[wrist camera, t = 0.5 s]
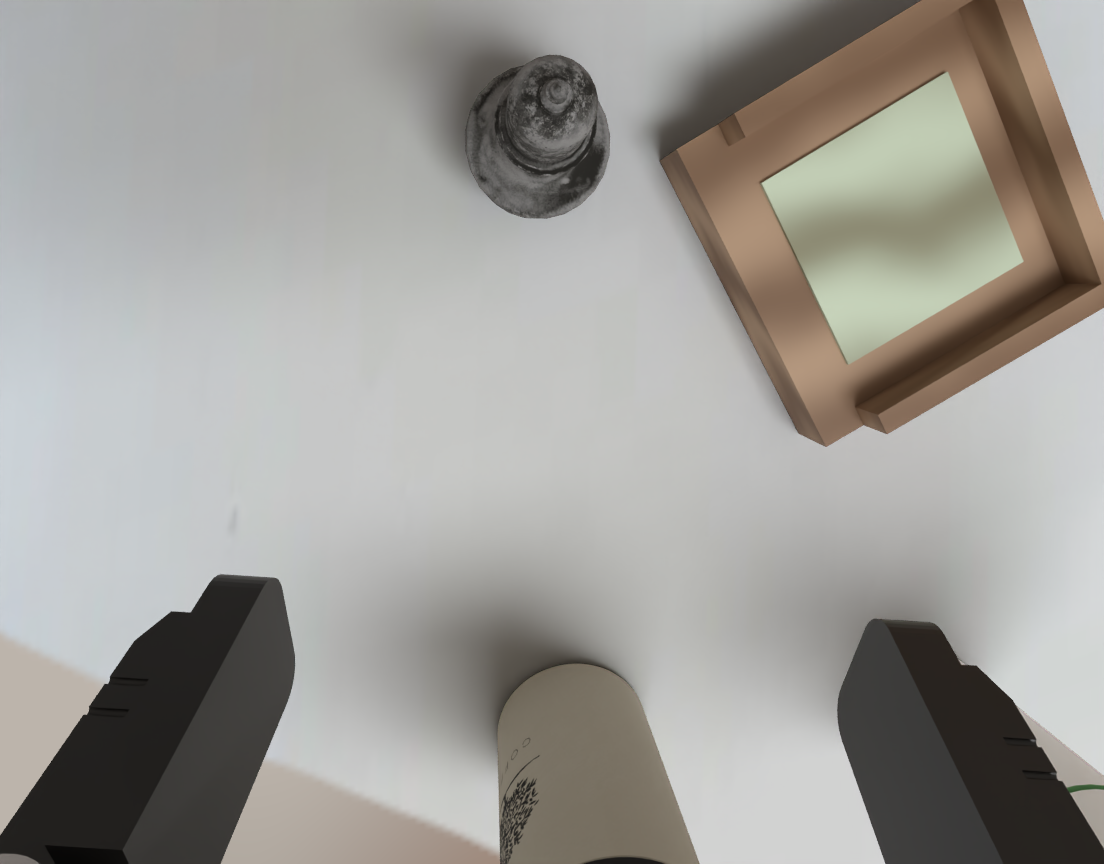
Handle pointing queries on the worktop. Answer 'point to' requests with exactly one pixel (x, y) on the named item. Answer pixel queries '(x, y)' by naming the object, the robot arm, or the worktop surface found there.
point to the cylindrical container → (1073, 775)
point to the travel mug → (584, 775)
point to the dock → (899, 216)
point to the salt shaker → (538, 138)
